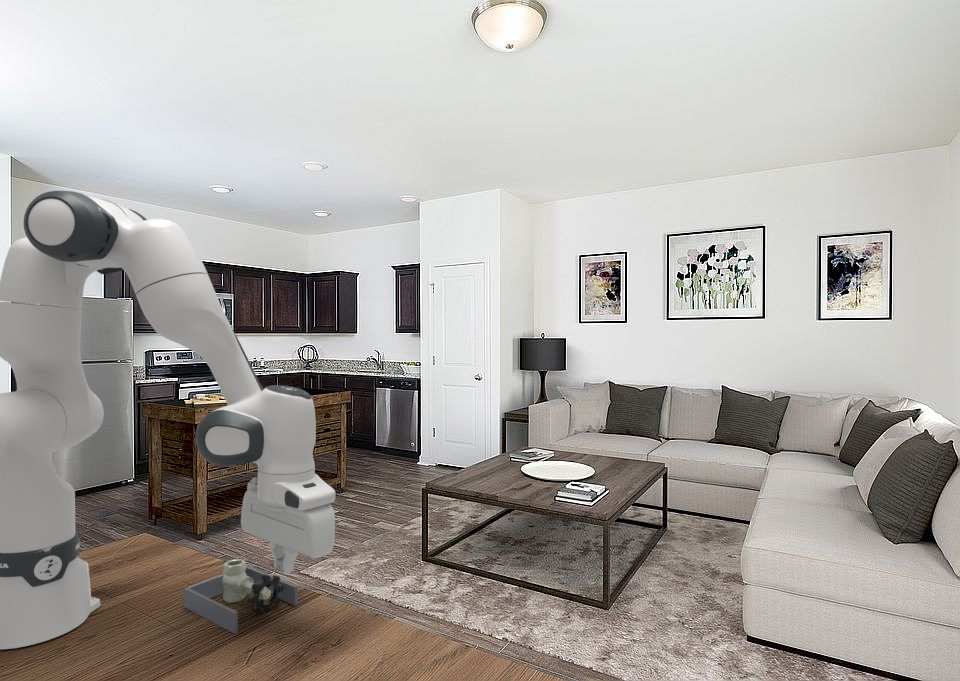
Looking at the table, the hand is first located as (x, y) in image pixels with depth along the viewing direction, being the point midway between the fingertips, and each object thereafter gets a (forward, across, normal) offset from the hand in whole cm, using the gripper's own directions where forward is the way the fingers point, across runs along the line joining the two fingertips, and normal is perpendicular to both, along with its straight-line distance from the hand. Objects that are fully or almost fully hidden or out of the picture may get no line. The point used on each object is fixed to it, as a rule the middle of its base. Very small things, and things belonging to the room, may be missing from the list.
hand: (284, 570), depth 95 cm
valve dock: (+10, -12, 0) cm, 16 cm away
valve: (+10, -12, +2) cm, 16 cm away
